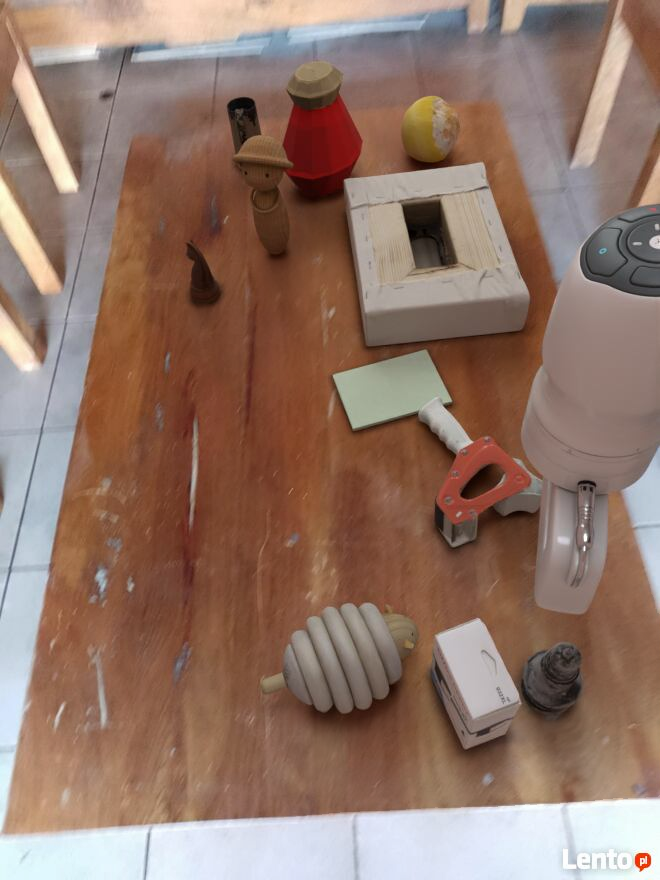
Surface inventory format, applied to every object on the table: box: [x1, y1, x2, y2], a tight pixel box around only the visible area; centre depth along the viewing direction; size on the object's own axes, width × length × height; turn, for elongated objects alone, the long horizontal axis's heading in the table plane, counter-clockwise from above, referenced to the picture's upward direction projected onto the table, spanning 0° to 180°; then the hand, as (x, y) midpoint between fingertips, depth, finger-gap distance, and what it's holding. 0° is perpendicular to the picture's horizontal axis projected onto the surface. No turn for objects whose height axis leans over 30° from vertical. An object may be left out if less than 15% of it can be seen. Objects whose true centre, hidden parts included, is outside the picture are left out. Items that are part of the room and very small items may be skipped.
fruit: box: [400, 95, 461, 163], centre depth 125 cm, size 10×11×10 cm
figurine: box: [230, 134, 293, 255], centre depth 109 cm, size 9×7×20 cm
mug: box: [226, 96, 263, 170], centre depth 127 cm, size 8×6×12 cm
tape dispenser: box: [417, 397, 543, 548], centre depth 88 cm, size 18×5×20 cm
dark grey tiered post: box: [520, 641, 584, 716], centre depth 70 cm, size 6×6×12 cm
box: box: [343, 161, 531, 347], centre depth 109 cm, size 23×8×32 cm
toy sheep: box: [259, 602, 420, 714], centre depth 72 cm, size 11×17×11 cm, turn 115°
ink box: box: [429, 617, 522, 750], centre depth 70 cm, size 8×5×12 cm, turn 19°
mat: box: [331, 348, 453, 432], centre depth 99 cm, size 14×10×1 cm
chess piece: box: [184, 238, 221, 305], centre depth 109 cm, size 5×5×10 cm
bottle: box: [281, 60, 364, 199], centre depth 119 cm, size 16×14×20 cm
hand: (553, 524), depth 60 cm, fingers open, 8 cm apart
